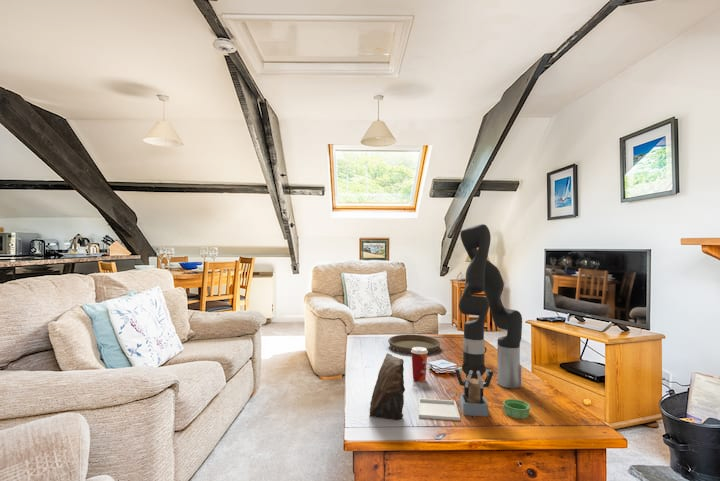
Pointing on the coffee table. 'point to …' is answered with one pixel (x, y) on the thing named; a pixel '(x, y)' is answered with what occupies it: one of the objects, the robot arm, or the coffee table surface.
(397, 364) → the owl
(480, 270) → the robot arm
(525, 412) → the ramekin
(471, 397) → the walnut peg
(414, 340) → the plant saucer
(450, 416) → the cream tray
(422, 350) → the paper cup
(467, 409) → the blue-grey open box
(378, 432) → the coffee table surface
